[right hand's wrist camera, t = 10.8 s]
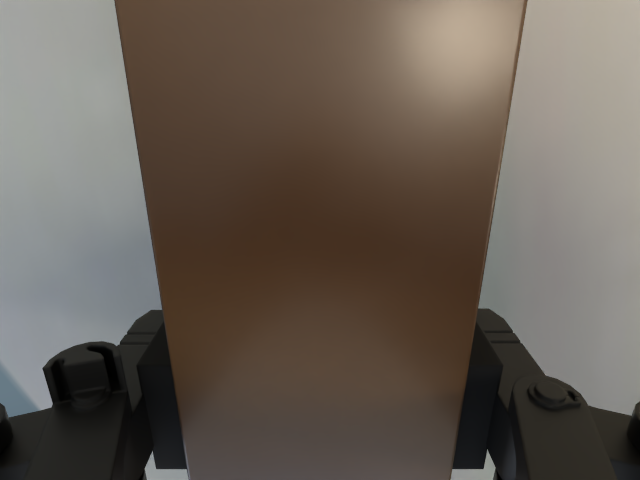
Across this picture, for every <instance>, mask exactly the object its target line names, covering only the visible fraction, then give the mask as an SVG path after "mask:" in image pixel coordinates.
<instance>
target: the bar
mask: <svg viewBox="0 0 640 480" xmlns="http://www.w3.org/2000/svg"><path fill="white" fill-rule="evenodd" d="M526 6H527V0H115V7H116V13H117V20H118V26H119V33H120V39H121V46H122V52H123V59H124V65H125V72H126V78H127V84H128V91H129V97H130V104H131V110H132V117H133V123H134V130H135V136H136V143H137V149H138V155H139V162H140V168H141V175H142V181H143V188H144V194H145V201H146V207H147V214H148V220H149V226H150V233H151V239H152V246H153V252H154V259H155V265H156V272H157V278H158V285H159V291H160V297H161V304H162V310H163V317H164V323H165V330H166V336H167V343H168V349H169V356H170V362H171V368H172V375H173V381H174V388H175V394H176V401H177V407H178V414H179V420H180V427H181V433H182V439H183V446H184V452H185V459H186V465H187V472H188V478H189V480H450V479H451V473H452V467H453V460H454V454H455V448H456V442H457V436H458V429H459V423H460V417H461V411H462V404H463V398H464V392H465V386H466V380H467V373H468V367H469V361H470V355H471V349H472V342H473V336H474V330H475V324H476V317H477V311H478V305H479V299H480V293H481V286H482V280H483V274H484V268H485V261H486V255H487V249H488V243H489V237H490V230H491V224H492V218H493V212H494V205H495V199H496V193H497V187H498V181H499V174H500V168H501V162H502V156H503V149H504V143H505V137H506V131H507V125H508V118H509V112H510V106H511V100H512V93H513V87H514V81H515V75H516V69H517V62H518V56H519V50H520V44H521V37H522V31H523V25H524V19H525V13H526Z"/></svg>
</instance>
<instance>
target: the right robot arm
mask: <svg viewBox="0 0 640 480" xmlns="http://www.w3.org/2000/svg"><path fill="white" fill-rule="evenodd" d="M43 372H44V375H45V378H46V382H47V385H48V388H49V392H50V395H51V399H52V402H53V405H52V408H48V409H45V410H41V411H36V412H32V413H27V414H23V415H18V416H14V417H9V418H8V415H7V412H6V409H5V407H4V406H3V405H2V404H1V403H0V480H147V479H146V473H145V466H146V464H147V462H148V460H149V457H150V455H151V453H152V451H153V455H154V460H155V465H156V469H187V465H186V459H185V452H184V446H183V439H182V433H181V427H180V420H179V414H178V407H177V401H176V394H175V388H174V381H173V375H172V368H171V362H170V356H169V349H168V343H167V336H166V330H165V323H164V317H163V310H150V311H149V312H148V313H146V314H145V315H143V316H142V317H140V318H139V319H137V320H136V321H135V322H134V324H133V325H132V327H131V328H130V329H129V331H128V332H127V335H125V336H124V337H123V339H122V340H121V342H120V345H118V346H115V345H114V344H112V343H107V342H103V341H102V342H88V343H84V344H80V345H76V346H73V347H71V348H69V349H66V350H64V351H62V352H60V353H59V354H57V355H56V356H54V357H53V358H51V359H50V360H49V361H48V362H47V364H46V365H45V366H44V367H43ZM487 449H488V451H489V454H490V456H491V458H492V460H493V463H494V465H495V467H496V469H495V473H494V478H493V480H640V402H638V403H637V404H636V405H635V408H634V411H633V414H632V416H630V415H625V414H621V413H616V412H612V411H607V410H603V409H598V408H595V407H591V406H588V405H587V403H586V401H585V400H584V398H583V397H582V395H581V394H580V393H579V392H577V391H576V390H575V389H574V388H572V387H571V386H570V385H568V384H566V383H564V382H562V381H560V380H558V379H555V378H552V377H548V376H546V375H545V374H544V373H543V371H542V370H541V369H540V367H539V366H538V365H537V363H536V362H535V360H534V359H533V358H532V356H531V355H530V354H529V352H528V351H527V350H526V348H525V347H524V346H523V344H522V343H520V340H519V339H518V337H517V336H516V335H515V333H513V331H512V329H511V328H510V327H509V325H508V324H507V323H506V321H505V320H504V319H503V318H502V317H500V316H499V315H497V314H496V313H494V312H493V311H491V310H490V309H478V311H477V317H476V324H475V330H474V336H473V342H472V349H471V355H470V361H469V367H468V373H467V380H466V386H465V392H464V398H463V404H462V411H461V417H460V423H459V429H458V436H457V442H456V448H455V454H454V460H453V467H452V469H483V468H484V463H485V458H486V453H487Z"/></svg>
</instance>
